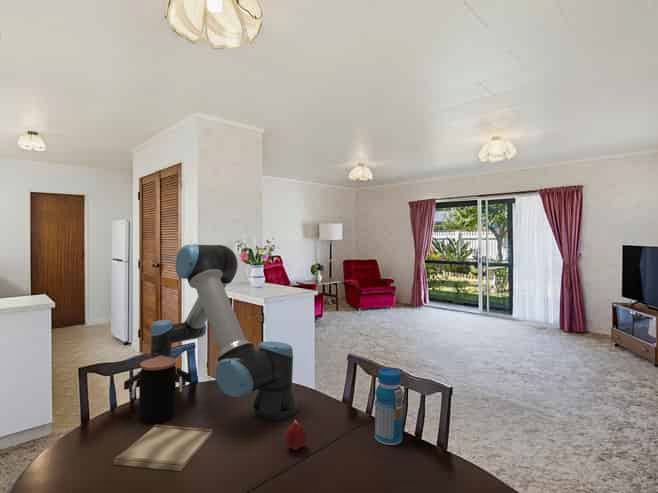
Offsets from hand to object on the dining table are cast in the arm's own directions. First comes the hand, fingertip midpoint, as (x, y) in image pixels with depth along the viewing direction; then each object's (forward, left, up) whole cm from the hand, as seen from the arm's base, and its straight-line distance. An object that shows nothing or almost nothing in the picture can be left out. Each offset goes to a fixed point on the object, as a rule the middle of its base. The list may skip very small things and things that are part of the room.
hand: (157, 390), depth 114 cm
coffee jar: (+2, -3, -10) cm, 11 cm away
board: (-11, +13, -10) cm, 20 cm away
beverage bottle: (-72, -2, -10) cm, 73 cm away
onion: (-46, +8, -10) cm, 48 cm away
